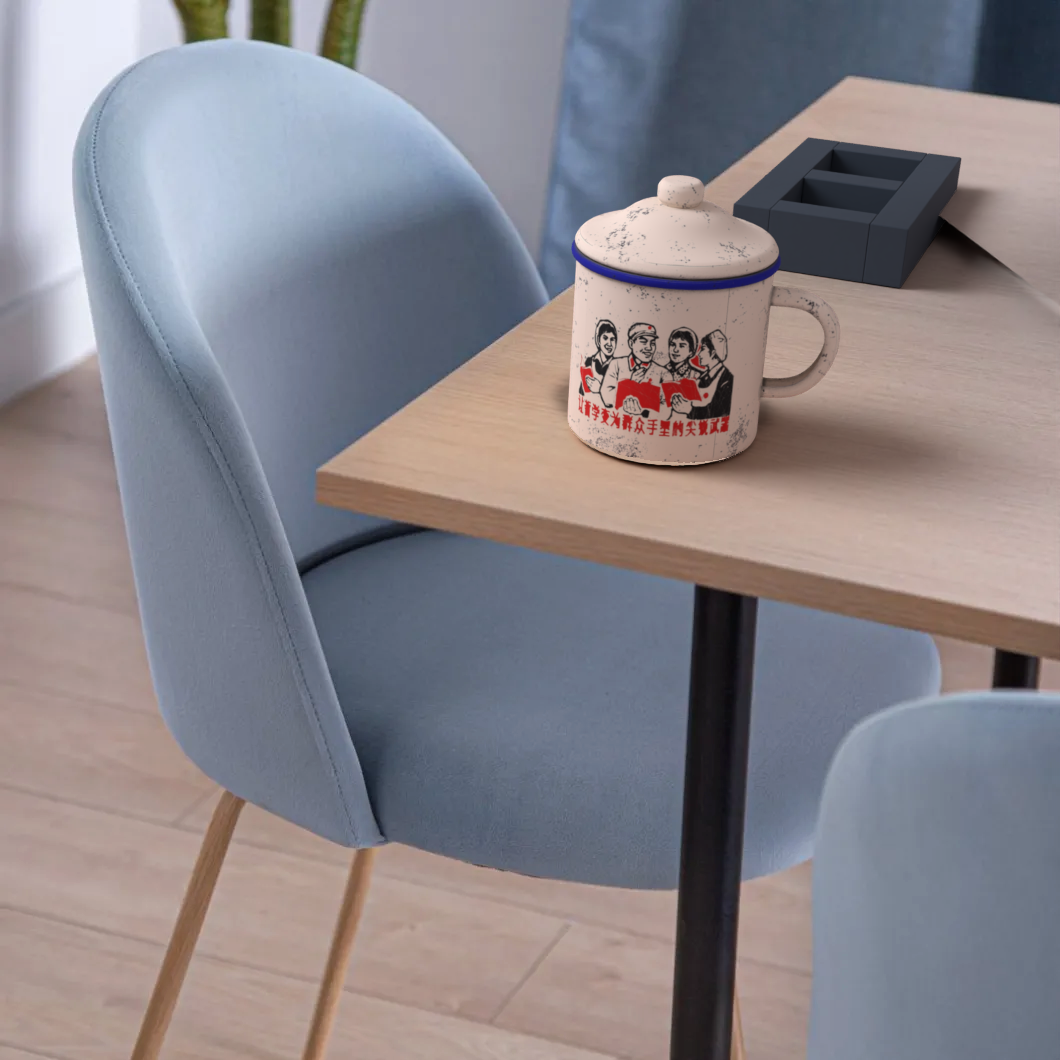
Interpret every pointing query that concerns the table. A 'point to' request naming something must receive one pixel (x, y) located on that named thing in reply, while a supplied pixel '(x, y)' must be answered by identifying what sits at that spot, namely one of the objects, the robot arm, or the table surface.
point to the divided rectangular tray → (852, 209)
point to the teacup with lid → (679, 328)
